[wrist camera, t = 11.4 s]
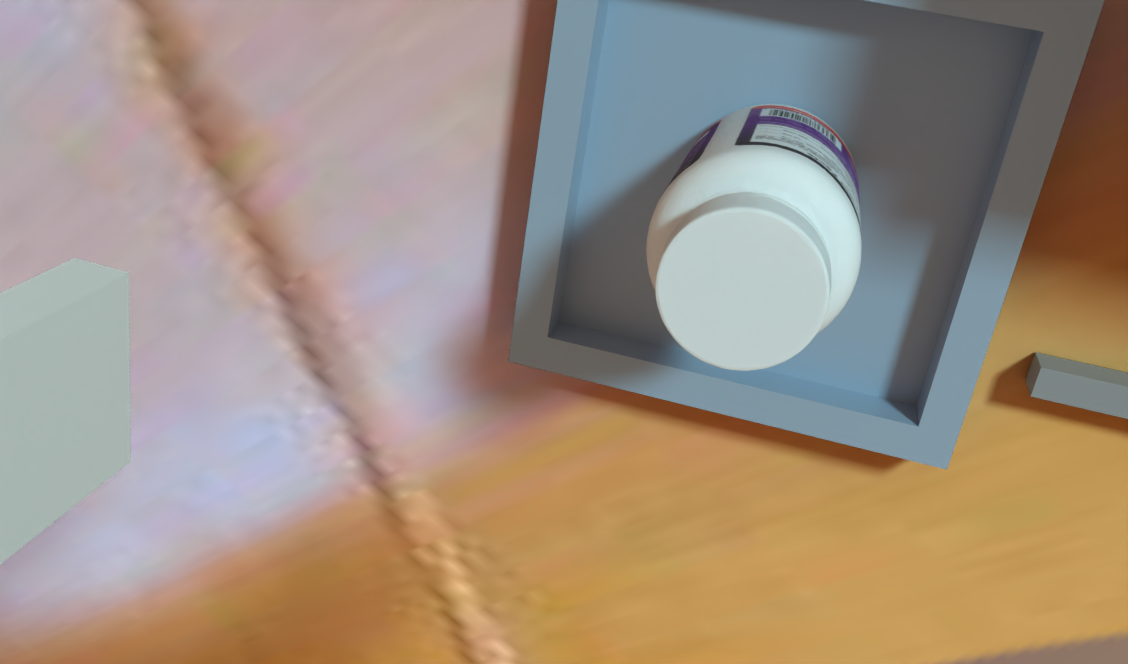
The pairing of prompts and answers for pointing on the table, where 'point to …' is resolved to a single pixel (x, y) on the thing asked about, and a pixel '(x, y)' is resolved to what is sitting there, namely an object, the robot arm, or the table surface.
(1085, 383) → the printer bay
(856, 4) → the tray
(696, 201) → the pill bottle
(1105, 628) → the table surface
